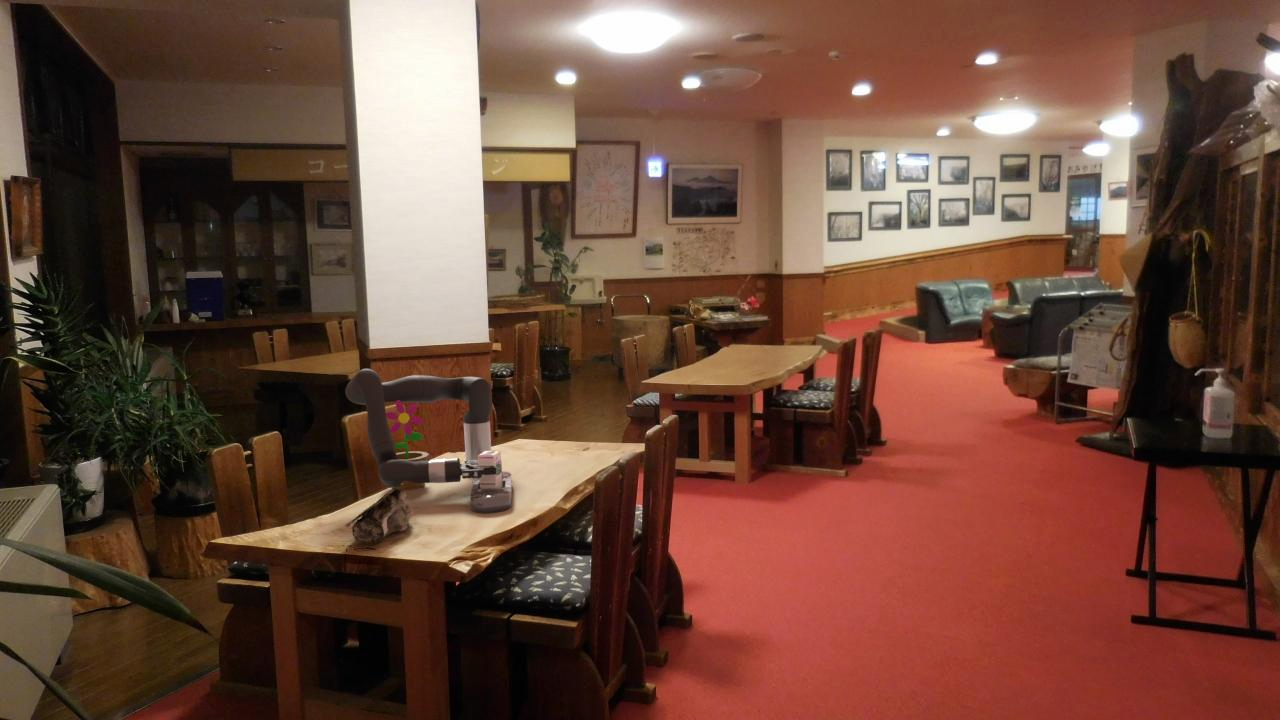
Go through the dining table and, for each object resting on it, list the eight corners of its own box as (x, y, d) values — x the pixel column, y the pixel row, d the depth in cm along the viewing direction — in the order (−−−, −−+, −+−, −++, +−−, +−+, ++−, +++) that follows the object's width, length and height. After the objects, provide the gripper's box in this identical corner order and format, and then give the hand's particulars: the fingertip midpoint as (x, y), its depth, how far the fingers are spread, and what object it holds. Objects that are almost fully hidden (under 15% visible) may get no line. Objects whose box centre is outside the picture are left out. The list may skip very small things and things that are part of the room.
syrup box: (497, 499, 283) (495, 454, 281) (479, 499, 284) (477, 454, 282) (503, 495, 289) (501, 450, 287) (486, 494, 290) (483, 450, 288)
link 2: (474, 493, 292) (473, 481, 291) (511, 490, 293) (511, 478, 293) (469, 514, 268) (469, 501, 267) (510, 511, 269) (510, 498, 269)
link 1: (511, 500, 281) (510, 488, 281) (472, 503, 280) (471, 490, 279) (512, 481, 305) (511, 470, 304) (476, 484, 303) (475, 472, 303)
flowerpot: (385, 493, 296) (379, 402, 292) (388, 482, 310) (382, 396, 306) (430, 489, 299) (424, 399, 295) (431, 478, 313) (425, 393, 309)
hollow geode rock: (363, 568, 238) (398, 530, 235) (328, 536, 238) (362, 496, 235) (406, 532, 265) (437, 497, 262) (374, 503, 265) (405, 467, 262)
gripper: (441, 464, 276) (495, 460, 278) (445, 453, 290) (496, 450, 292) (443, 488, 277) (496, 484, 279) (447, 476, 291) (498, 473, 293)
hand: (496, 467), depth 285 cm, fingers open, 8 cm apart
